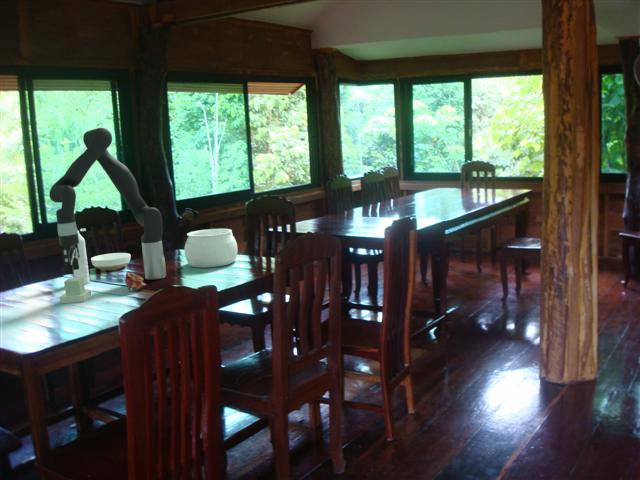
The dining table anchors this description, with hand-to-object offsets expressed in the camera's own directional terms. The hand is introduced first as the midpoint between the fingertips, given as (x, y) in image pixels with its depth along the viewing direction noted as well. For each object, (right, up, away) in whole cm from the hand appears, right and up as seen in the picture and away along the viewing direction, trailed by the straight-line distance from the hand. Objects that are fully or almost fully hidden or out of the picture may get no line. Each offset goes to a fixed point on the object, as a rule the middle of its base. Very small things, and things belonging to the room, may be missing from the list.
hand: (73, 271), depth 285 cm
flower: (+23, -9, +13) cm, 28 cm away
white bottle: (-7, -7, +34) cm, 36 cm away
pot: (+48, +1, +61) cm, 78 cm away
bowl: (-4, -2, +66) cm, 66 cm away
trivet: (0, -12, +2) cm, 12 cm away
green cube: (0, -9, +2) cm, 9 cm away
